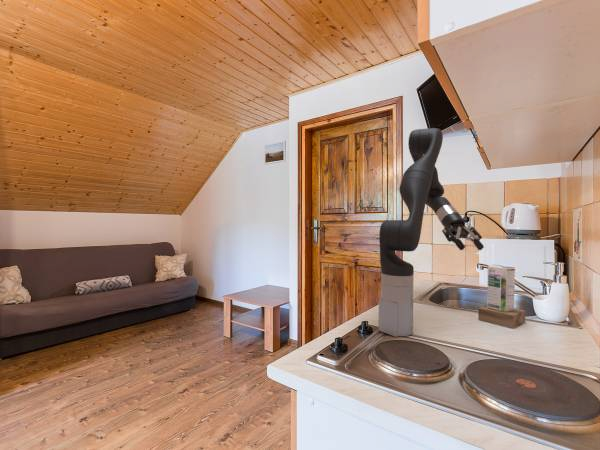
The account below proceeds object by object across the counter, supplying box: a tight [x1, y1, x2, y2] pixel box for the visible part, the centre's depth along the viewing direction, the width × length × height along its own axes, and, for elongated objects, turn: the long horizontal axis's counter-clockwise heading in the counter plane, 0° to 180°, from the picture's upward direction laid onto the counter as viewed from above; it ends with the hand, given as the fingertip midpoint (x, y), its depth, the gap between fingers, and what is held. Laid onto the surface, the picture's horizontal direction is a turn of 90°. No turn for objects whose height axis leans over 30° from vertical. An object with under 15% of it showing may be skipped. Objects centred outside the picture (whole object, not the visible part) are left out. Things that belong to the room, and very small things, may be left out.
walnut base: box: [477, 304, 526, 329], centre depth 97 cm, size 10×10×4 cm
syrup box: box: [486, 264, 516, 312], centre depth 97 cm, size 6×6×14 cm
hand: (472, 248), depth 108 cm, fingers open, 8 cm apart
